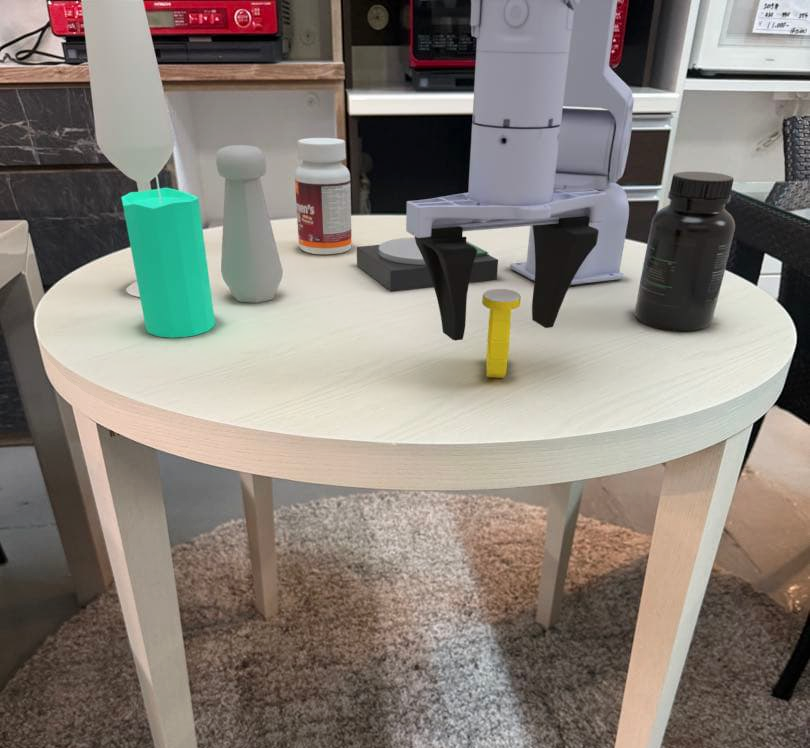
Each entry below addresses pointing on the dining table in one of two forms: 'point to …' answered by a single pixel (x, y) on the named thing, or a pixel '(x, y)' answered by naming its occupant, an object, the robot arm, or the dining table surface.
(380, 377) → the dining table surface
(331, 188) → the pill bottle
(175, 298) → the candle
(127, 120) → the champagne flute
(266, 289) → the salt shaker
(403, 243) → the scale
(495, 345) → the watch
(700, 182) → the supplement bottle
